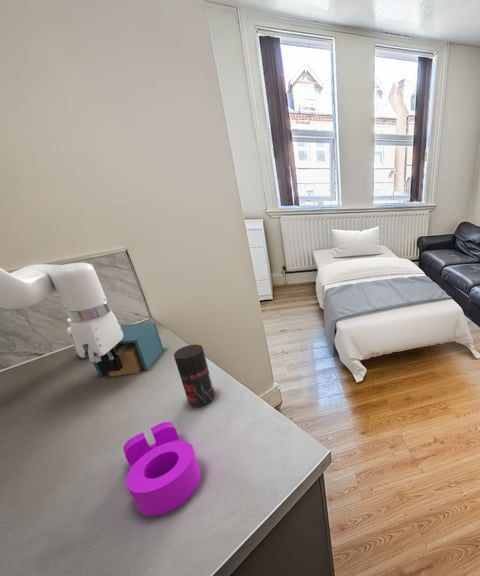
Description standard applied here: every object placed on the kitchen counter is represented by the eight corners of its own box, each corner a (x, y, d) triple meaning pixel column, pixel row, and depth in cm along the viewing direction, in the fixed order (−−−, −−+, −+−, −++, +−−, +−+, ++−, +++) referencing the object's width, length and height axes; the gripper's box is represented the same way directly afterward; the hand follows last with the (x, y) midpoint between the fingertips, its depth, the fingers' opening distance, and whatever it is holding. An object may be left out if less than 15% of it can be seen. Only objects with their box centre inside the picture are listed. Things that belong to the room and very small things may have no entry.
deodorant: (218, 398, 75) (206, 351, 70) (192, 411, 71) (177, 362, 66) (210, 387, 79) (198, 341, 73) (185, 399, 75) (170, 351, 69)
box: (138, 372, 84) (131, 352, 82) (110, 376, 82) (101, 356, 80) (149, 358, 91) (142, 339, 88) (123, 362, 89) (115, 342, 86)
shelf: (147, 370, 85) (136, 340, 81) (99, 376, 83) (85, 345, 79) (163, 349, 95) (154, 321, 91) (120, 354, 92) (109, 325, 88)
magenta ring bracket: (208, 485, 55) (201, 462, 52) (144, 529, 48) (132, 506, 46) (182, 436, 65) (174, 416, 62) (125, 468, 58) (115, 445, 55)
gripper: (93, 300, 79) (116, 355, 86) (47, 327, 65) (79, 390, 72) (124, 298, 80) (145, 352, 87) (85, 324, 67) (113, 386, 74)
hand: (115, 369), depth 80 cm, fingers closed
